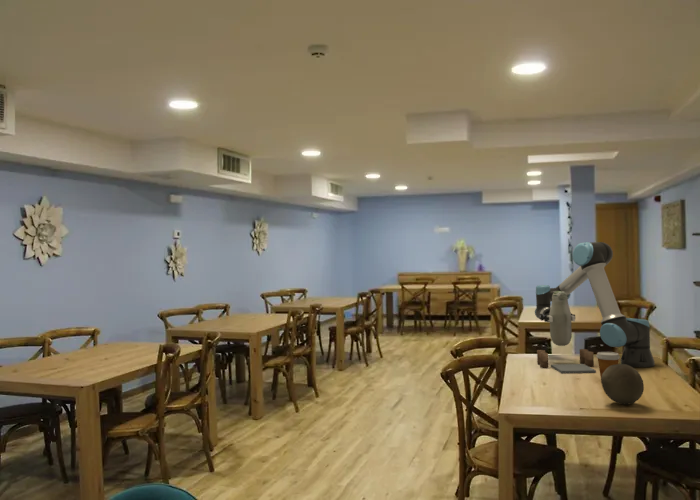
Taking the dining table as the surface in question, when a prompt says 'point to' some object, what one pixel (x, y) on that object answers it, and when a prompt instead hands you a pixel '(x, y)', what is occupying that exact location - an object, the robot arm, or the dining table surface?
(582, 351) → the cylinder
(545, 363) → the cylinder
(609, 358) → the disposable coffee cup
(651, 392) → the dining table surface
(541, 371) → the dining table surface
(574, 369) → the mat
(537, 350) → the cylinder
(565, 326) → the grey ceramic vase
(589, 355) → the cylinder
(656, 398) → the dining table surface
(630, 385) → the coconut
